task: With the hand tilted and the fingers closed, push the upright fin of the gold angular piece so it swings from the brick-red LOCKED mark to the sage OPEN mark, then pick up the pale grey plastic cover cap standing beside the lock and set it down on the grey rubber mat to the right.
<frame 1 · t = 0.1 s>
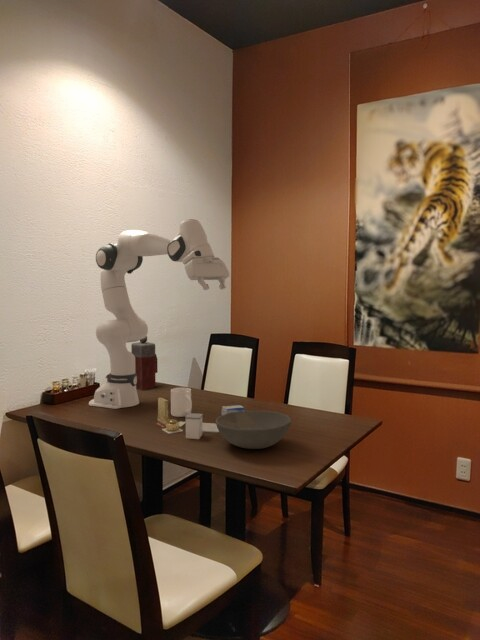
hand: (215, 289, 197), 54 cm above the table, tool tilted 30°, fingers open, 8 cm apart
mug: (183, 415, 219), on the table
red canister: (145, 387, 271), on the table
cover: (194, 436, 192), on the table
bowl: (253, 446, 183), on the table
mat: (209, 428, 202), on the table
marks: (172, 430, 199), on the table
medicine box: (232, 428, 201), on the table, touching mat
gold angular piece: (167, 413, 202), point 5 cm above the table, hinge at 0.0°
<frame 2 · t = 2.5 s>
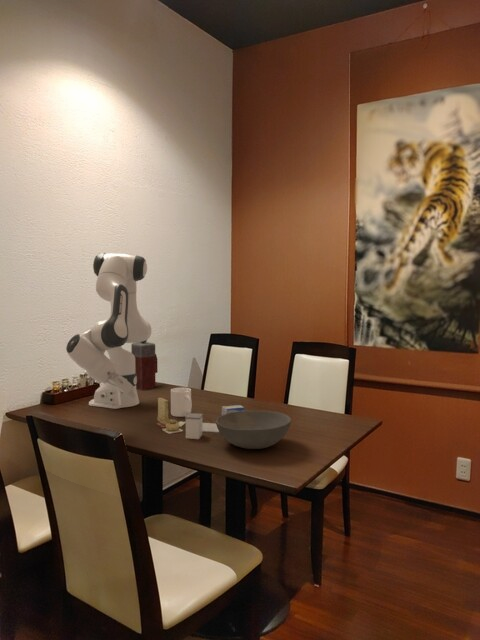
hand: (128, 394, 194), 15 cm above the table, tool tilted 45°, fingers open, 8 cm apart
nothing on the table moved.
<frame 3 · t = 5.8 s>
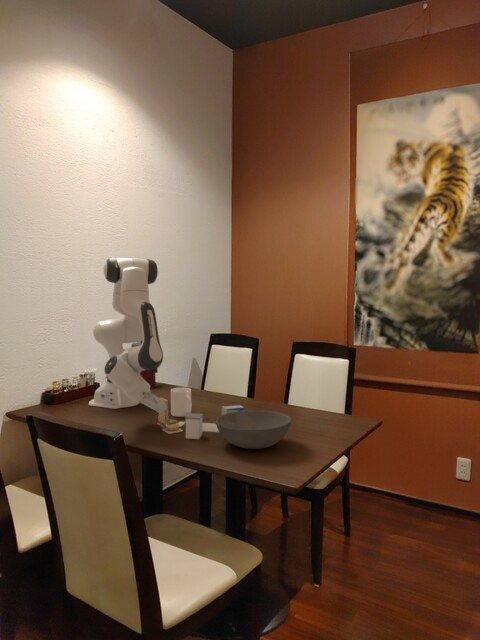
hand: (162, 412, 203), 6 cm above the table, tool tilted 45°, fingers closed, pressing on gold angular piece
gold angular piece: (167, 413, 202), point 5 cm above the table, hinge at 1.7°, touching gripper
everything else where it was.
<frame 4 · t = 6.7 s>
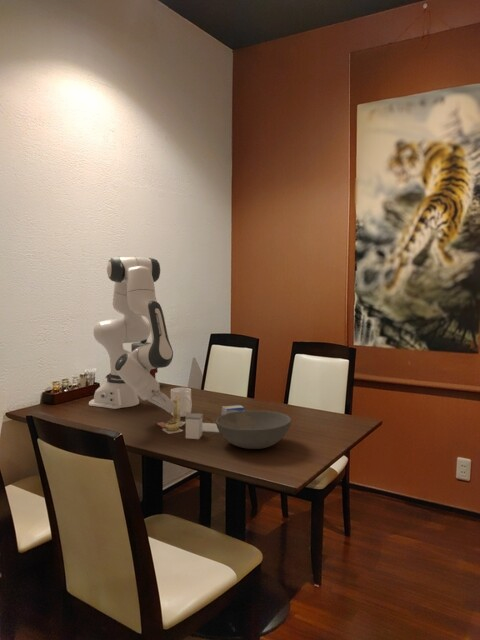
hand: (170, 411, 204), 6 cm above the table, tool tilted 40°, fingers closed
gold angular piece: (174, 413, 202), point 6 cm above the table, hinge at 39.6°, touching gripper
everything else where it was.
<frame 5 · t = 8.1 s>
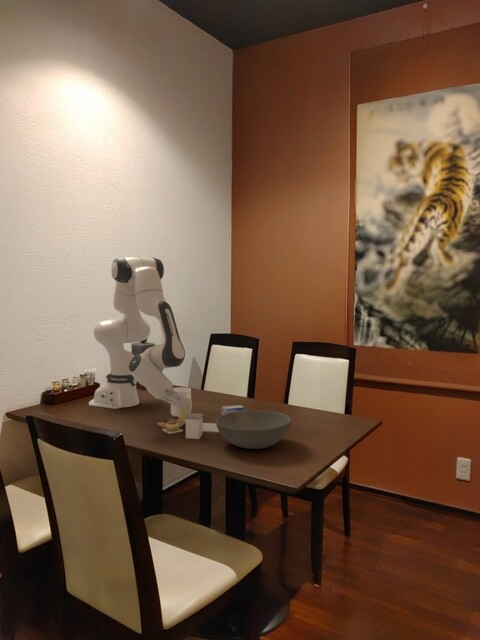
hand: (183, 409, 208), 6 cm above the table, tool tilted 45°, fingers closed
gold angular piece: (179, 413, 202), point 5 cm above the table, hinge at 64.4°, touching gripper
everything else where it was.
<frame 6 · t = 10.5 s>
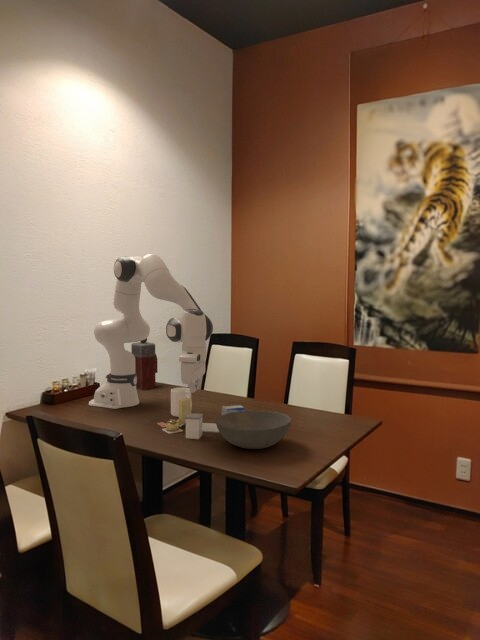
hand: (194, 390, 190), 17 cm above the table, tool pointing down, fingers closed
gold angular piece: (179, 413, 202), point 6 cm above the table, hinge at 64.4°
everything else where it was.
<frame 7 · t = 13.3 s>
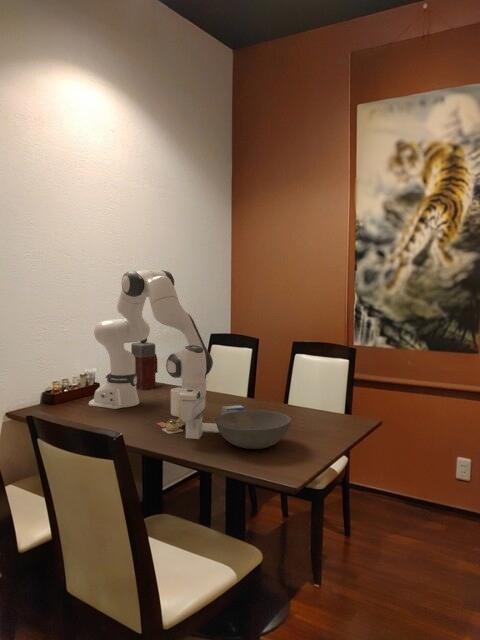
hand: (194, 426, 192), 4 cm above the table, tool pointing down, fingers closed on cover, 5 cm apart
cover: (194, 436, 192), on the table, touching gripper
everything else where it was.
when the fingers open (5 cm above the table, at t = 17.9 s): cover drops 1 cm, resting on mat.
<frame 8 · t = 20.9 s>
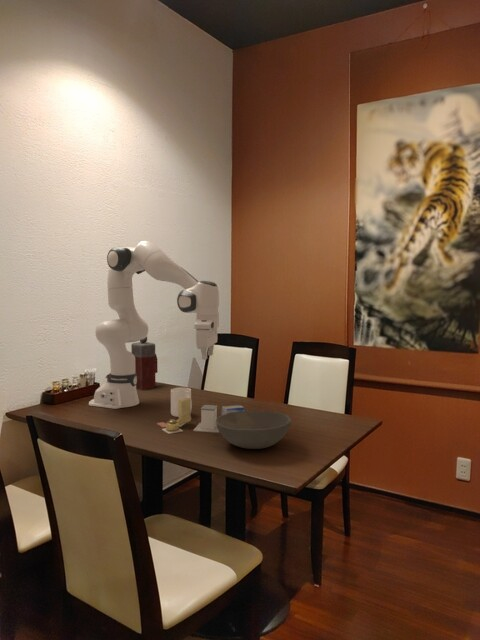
hand: (207, 357, 205), 27 cm above the table, tool pointing down, fingers open, 8 cm apart
cover: (209, 427, 202), resting on mat
everything else where it was.
at the end: gold angular piece at +64° (first picture: +0°); cover inside the target area on the mat (0.0 cm from its centre), point 0.4 cm above the mat's base; cover tilted 0° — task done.
